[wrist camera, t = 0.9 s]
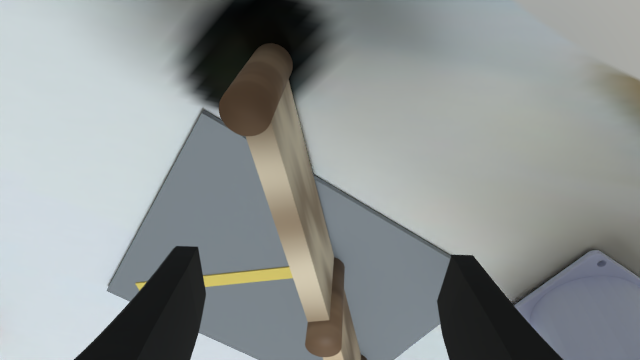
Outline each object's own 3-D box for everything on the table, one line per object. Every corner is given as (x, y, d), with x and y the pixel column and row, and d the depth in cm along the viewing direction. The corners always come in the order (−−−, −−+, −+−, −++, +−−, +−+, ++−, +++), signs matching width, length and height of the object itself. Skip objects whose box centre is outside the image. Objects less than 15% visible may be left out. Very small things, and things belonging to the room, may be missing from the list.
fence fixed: (311, 258, 28) (301, 335, 23) (341, 254, 28) (338, 332, 23) (344, 370, 34) (342, 450, 29) (369, 368, 34) (371, 449, 29)
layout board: (490, 279, 28) (492, 284, 28) (343, 393, 37) (343, 399, 36) (204, 109, 23) (201, 113, 23) (109, 286, 32) (105, 291, 31)
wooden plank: (340, 255, 27) (336, 332, 22) (309, 259, 27) (298, 334, 23) (286, 39, 20) (263, 81, 15) (246, 47, 20) (211, 91, 16)
